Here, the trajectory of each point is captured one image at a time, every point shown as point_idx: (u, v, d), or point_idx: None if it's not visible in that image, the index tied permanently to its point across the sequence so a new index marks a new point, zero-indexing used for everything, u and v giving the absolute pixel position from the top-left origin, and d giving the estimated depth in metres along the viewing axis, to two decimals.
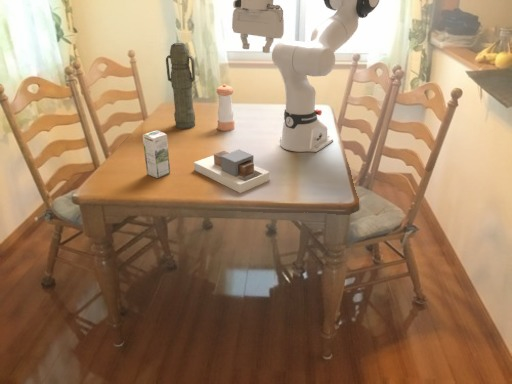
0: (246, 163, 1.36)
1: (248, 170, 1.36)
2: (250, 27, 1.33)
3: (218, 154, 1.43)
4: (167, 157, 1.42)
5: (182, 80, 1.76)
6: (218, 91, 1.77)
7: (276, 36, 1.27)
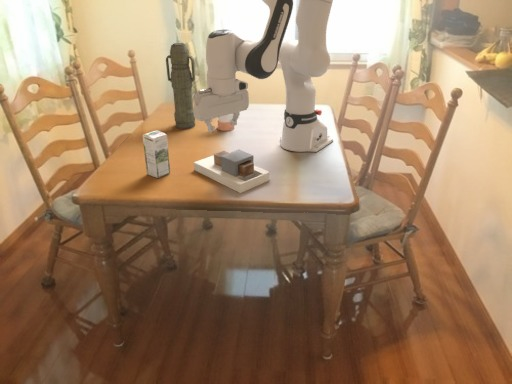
0: (246, 163, 1.36)
1: (248, 170, 1.36)
2: None
3: (218, 154, 1.43)
4: (167, 157, 1.42)
5: (182, 80, 1.76)
6: None
7: None
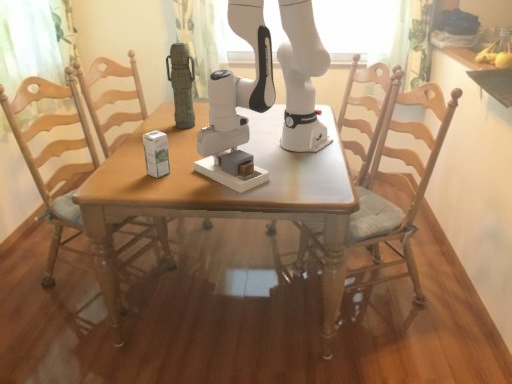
0: (246, 163, 1.36)
1: (248, 170, 1.36)
2: None
3: (218, 154, 1.43)
4: (167, 157, 1.42)
5: (182, 80, 1.76)
6: None
7: None
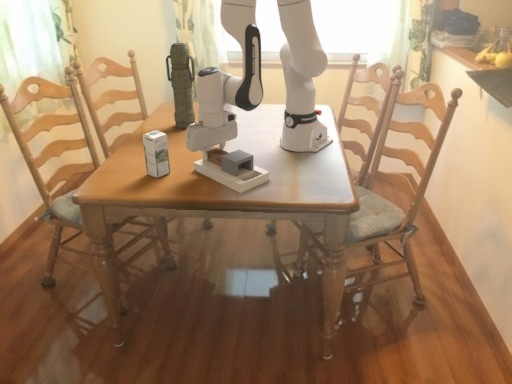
0: None
1: None
2: None
3: (207, 149, 1.47)
4: (167, 157, 1.42)
5: (182, 80, 1.76)
6: None
7: None
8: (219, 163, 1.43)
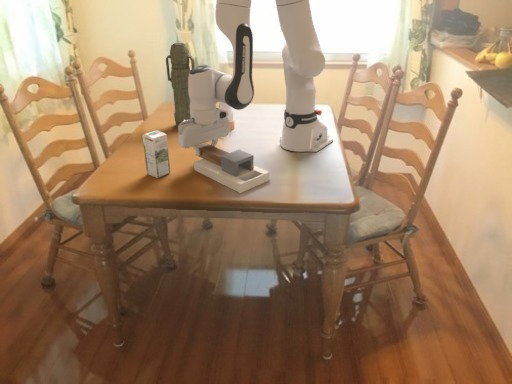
0: None
1: None
2: None
3: (199, 146, 1.50)
4: (167, 157, 1.42)
5: (182, 80, 1.76)
6: None
7: None
8: (211, 159, 1.46)
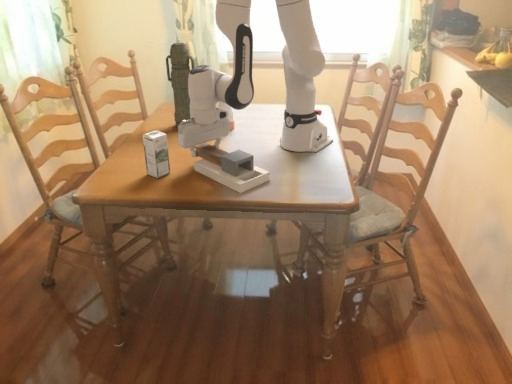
0: None
1: None
2: None
3: (199, 146, 1.50)
4: (167, 157, 1.42)
5: (182, 80, 1.76)
6: None
7: None
8: (211, 159, 1.46)
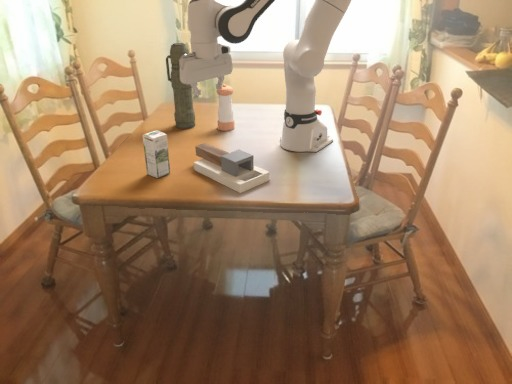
0: None
1: None
2: None
3: (199, 146, 1.50)
4: (167, 157, 1.42)
5: None
6: (218, 91, 1.77)
7: None
8: (211, 159, 1.46)
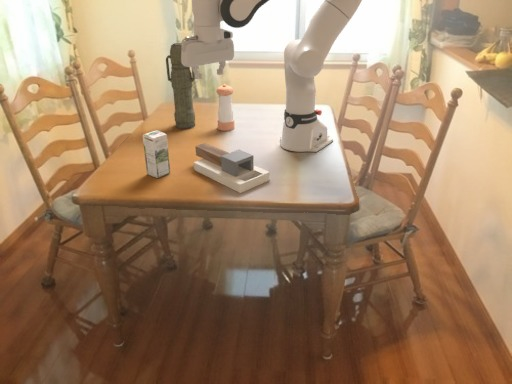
0: None
1: None
2: None
3: (199, 146, 1.50)
4: (167, 157, 1.42)
5: (182, 80, 1.76)
6: (218, 91, 1.77)
7: None
8: (211, 159, 1.46)
